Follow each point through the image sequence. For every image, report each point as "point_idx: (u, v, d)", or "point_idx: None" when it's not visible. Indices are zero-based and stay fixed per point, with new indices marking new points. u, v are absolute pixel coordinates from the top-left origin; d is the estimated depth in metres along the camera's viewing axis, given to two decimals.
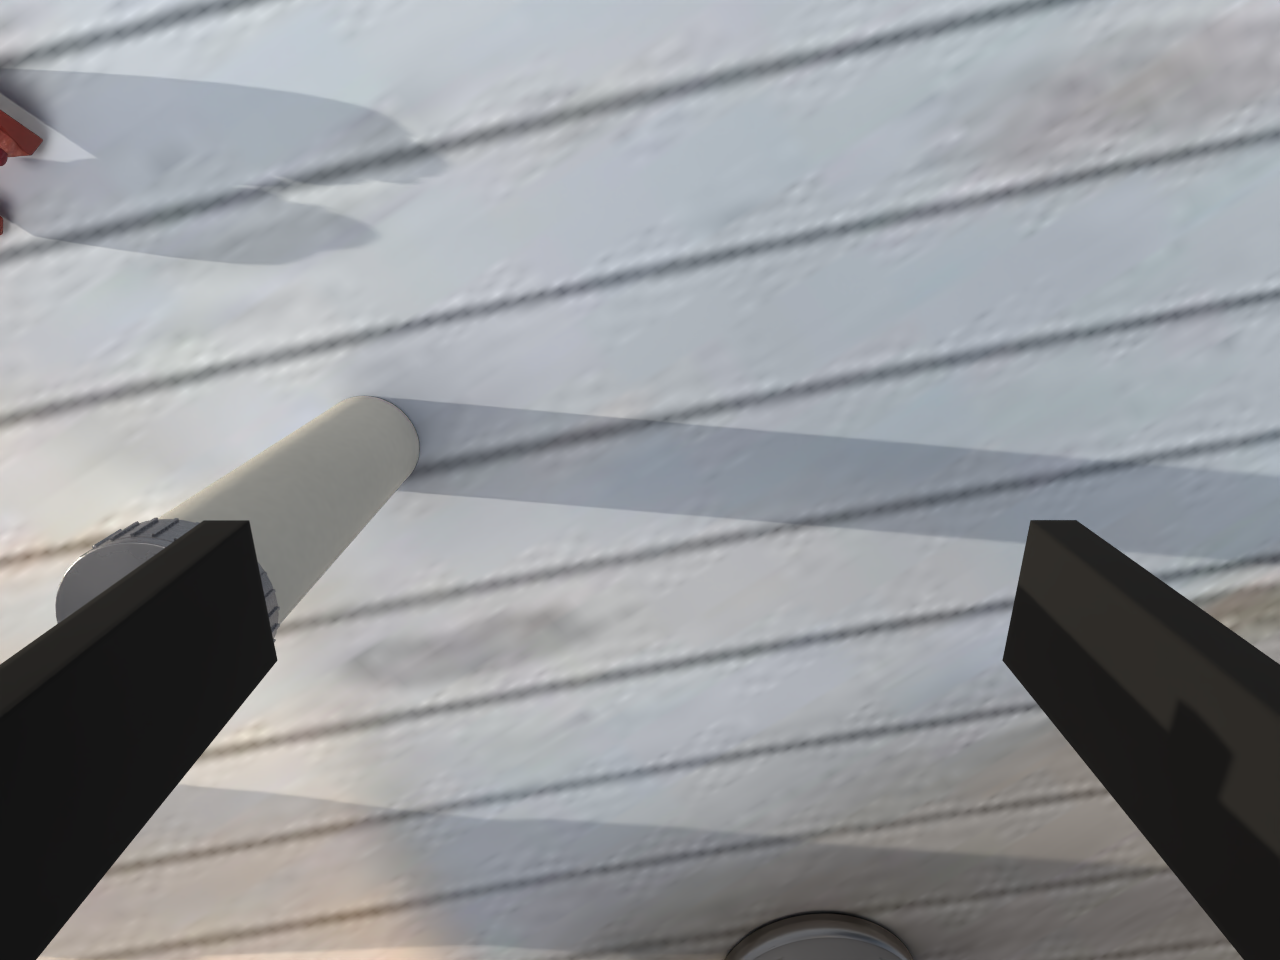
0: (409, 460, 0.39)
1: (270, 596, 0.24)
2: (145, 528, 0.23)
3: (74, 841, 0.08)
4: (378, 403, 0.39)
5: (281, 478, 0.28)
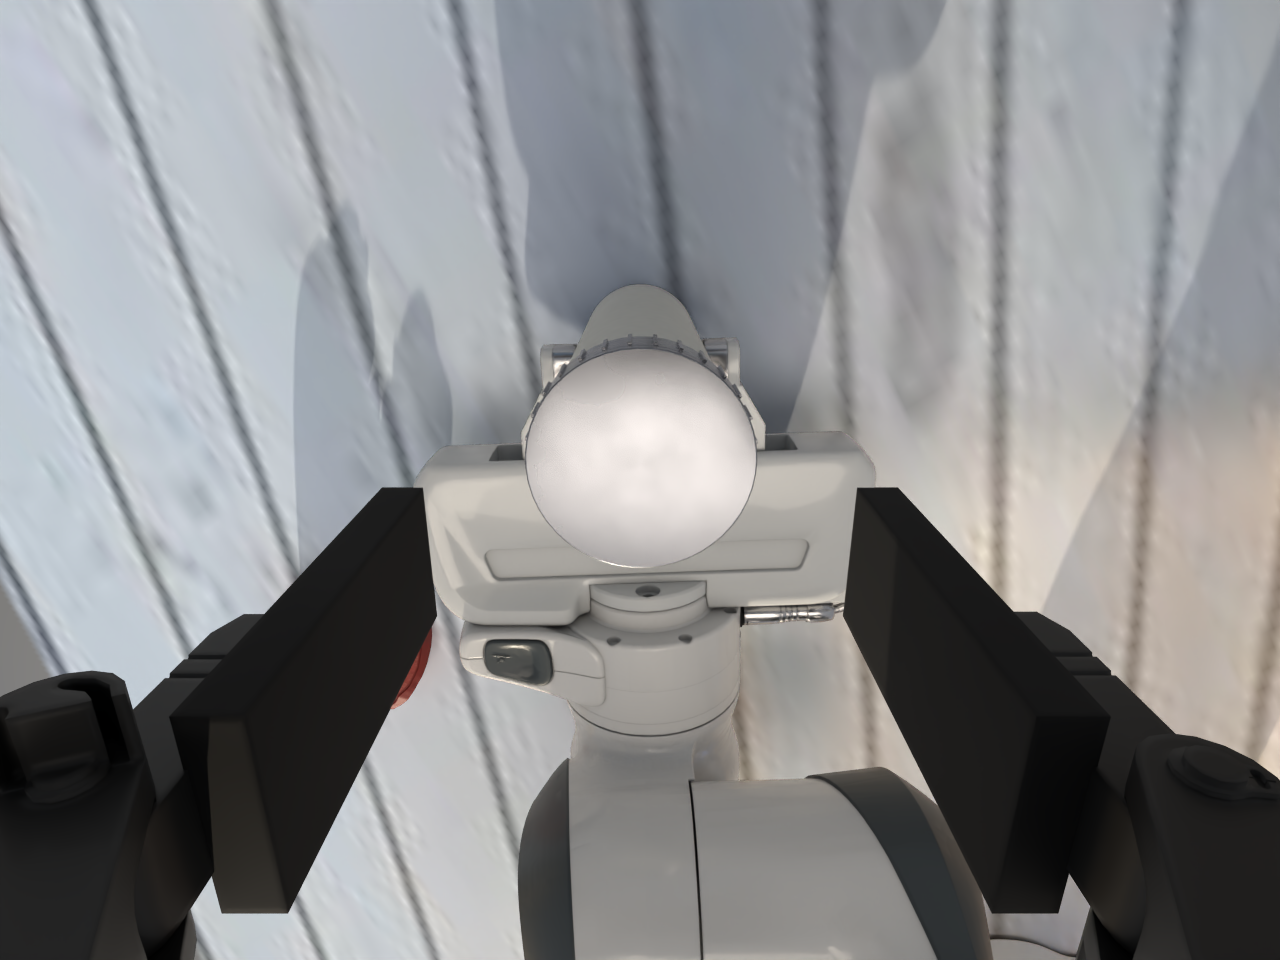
0: (651, 288, 0.34)
1: None
2: None
3: (340, 748, 0.10)
4: None
5: (570, 361, 0.25)
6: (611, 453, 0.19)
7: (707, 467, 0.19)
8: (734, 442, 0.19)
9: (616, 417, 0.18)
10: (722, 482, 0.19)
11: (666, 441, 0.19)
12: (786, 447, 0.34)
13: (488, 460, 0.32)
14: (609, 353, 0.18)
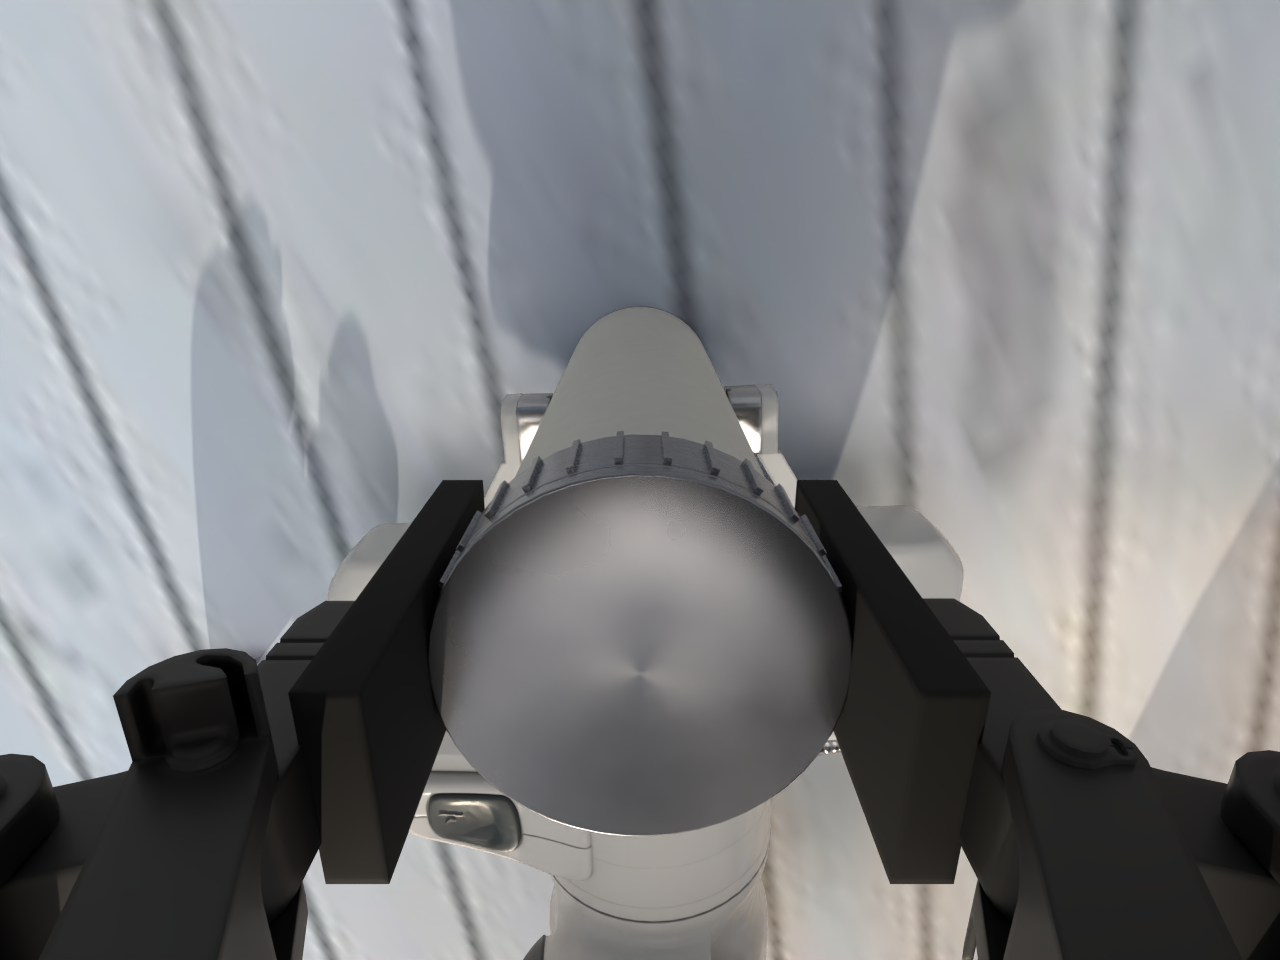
0: (654, 314, 0.26)
1: (623, 439, 0.11)
2: None
3: (424, 729, 0.10)
4: None
5: (532, 440, 0.16)
6: (585, 656, 0.10)
7: (761, 679, 0.10)
8: (812, 638, 0.10)
9: (594, 596, 0.10)
10: (787, 704, 0.10)
11: (686, 636, 0.10)
12: None
13: None
14: (579, 483, 0.09)
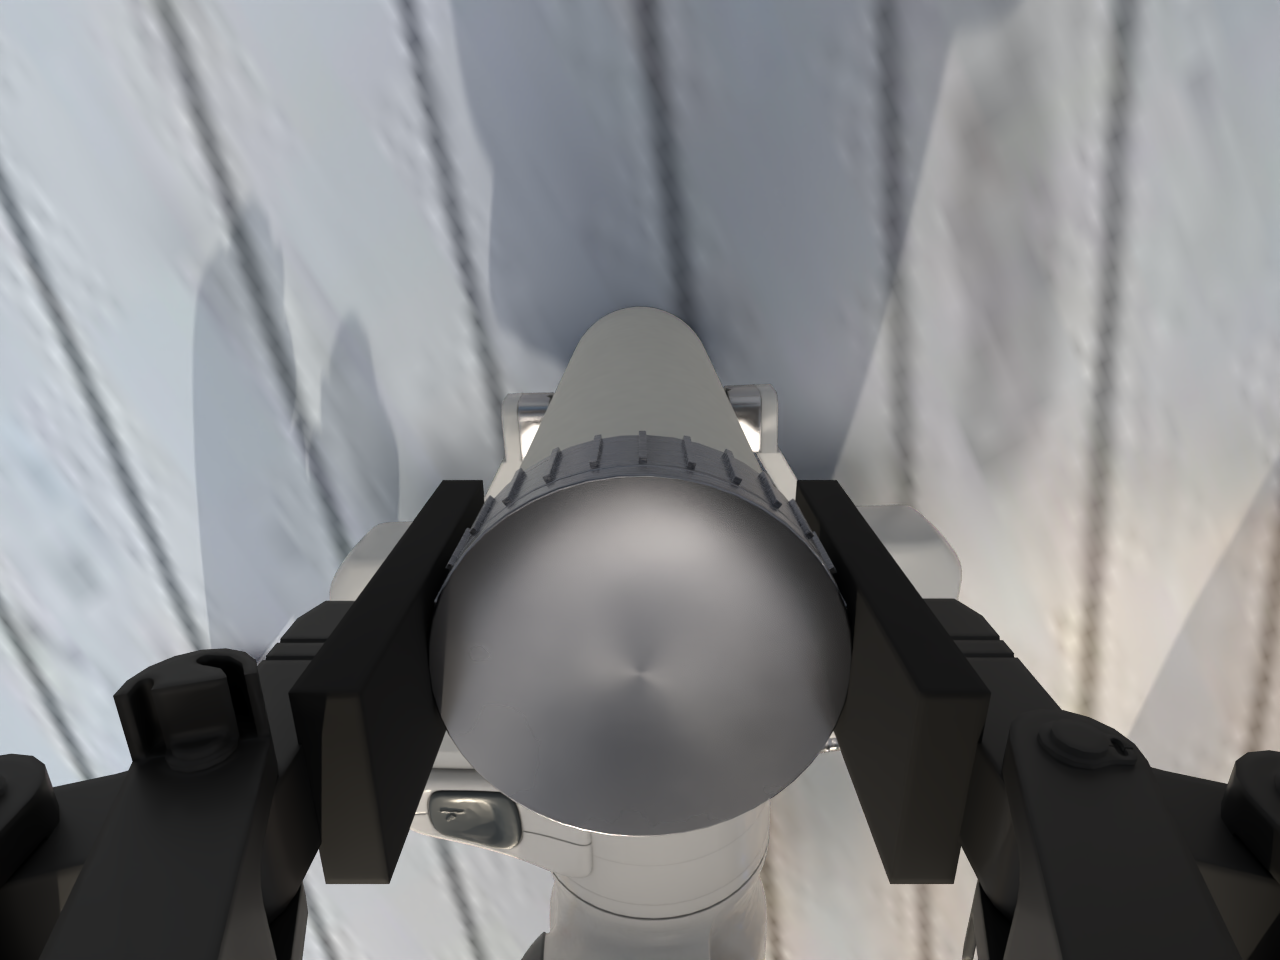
0: (654, 314, 0.26)
1: None
2: None
3: (425, 729, 0.10)
4: None
5: (533, 439, 0.16)
6: (623, 719, 0.11)
7: (640, 564, 0.10)
8: (585, 521, 0.10)
9: (556, 715, 0.11)
10: (669, 536, 0.10)
11: (594, 636, 0.10)
12: None
13: None
14: (447, 728, 0.11)
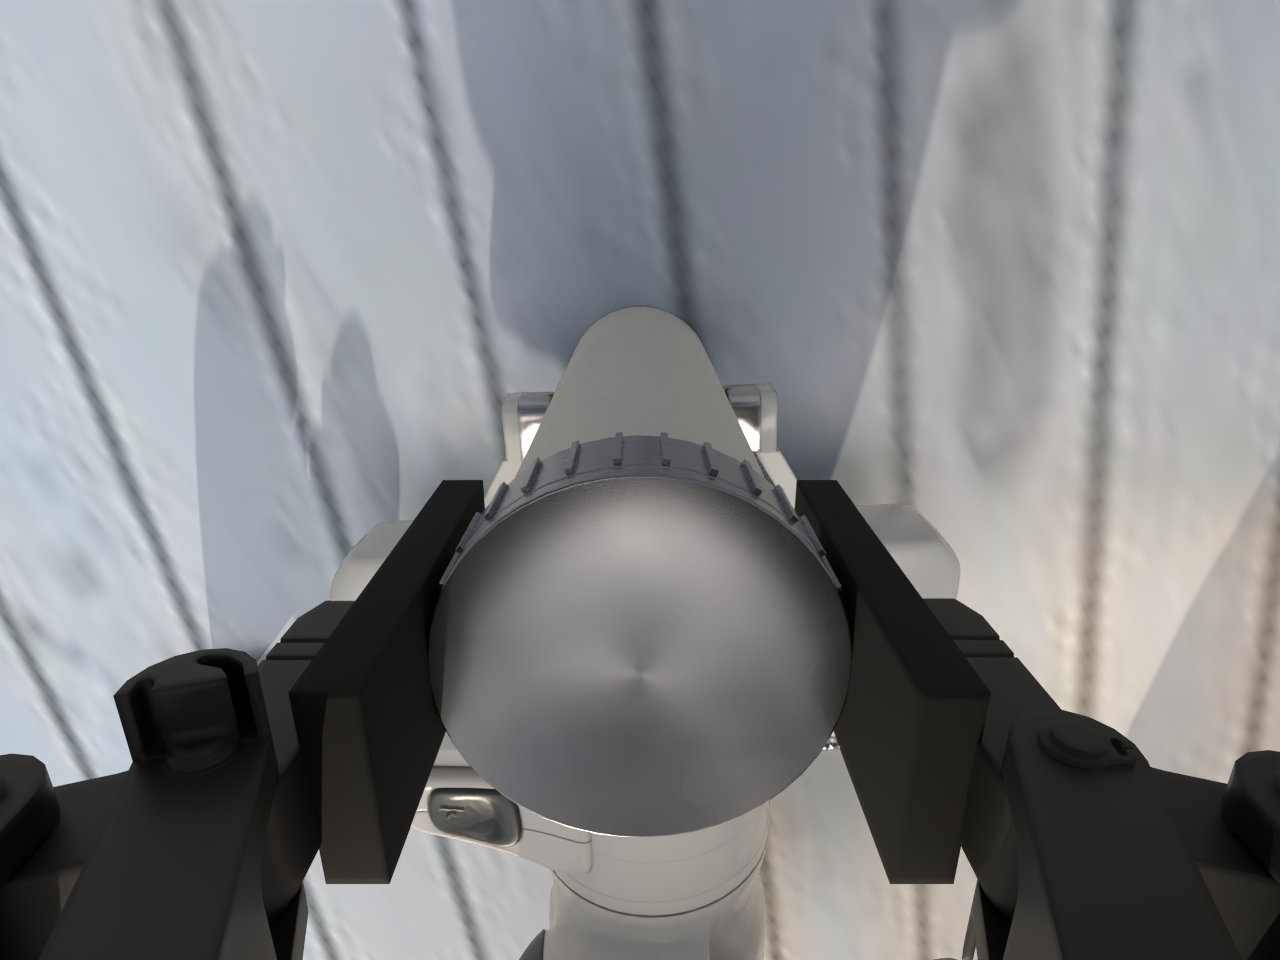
0: (654, 314, 0.26)
1: None
2: None
3: (425, 729, 0.10)
4: None
5: (534, 437, 0.17)
6: (695, 686, 0.10)
7: (518, 679, 0.10)
8: (480, 723, 0.11)
9: (691, 742, 0.11)
10: (484, 659, 0.10)
11: (599, 713, 0.11)
12: None
13: None
14: (710, 825, 0.11)
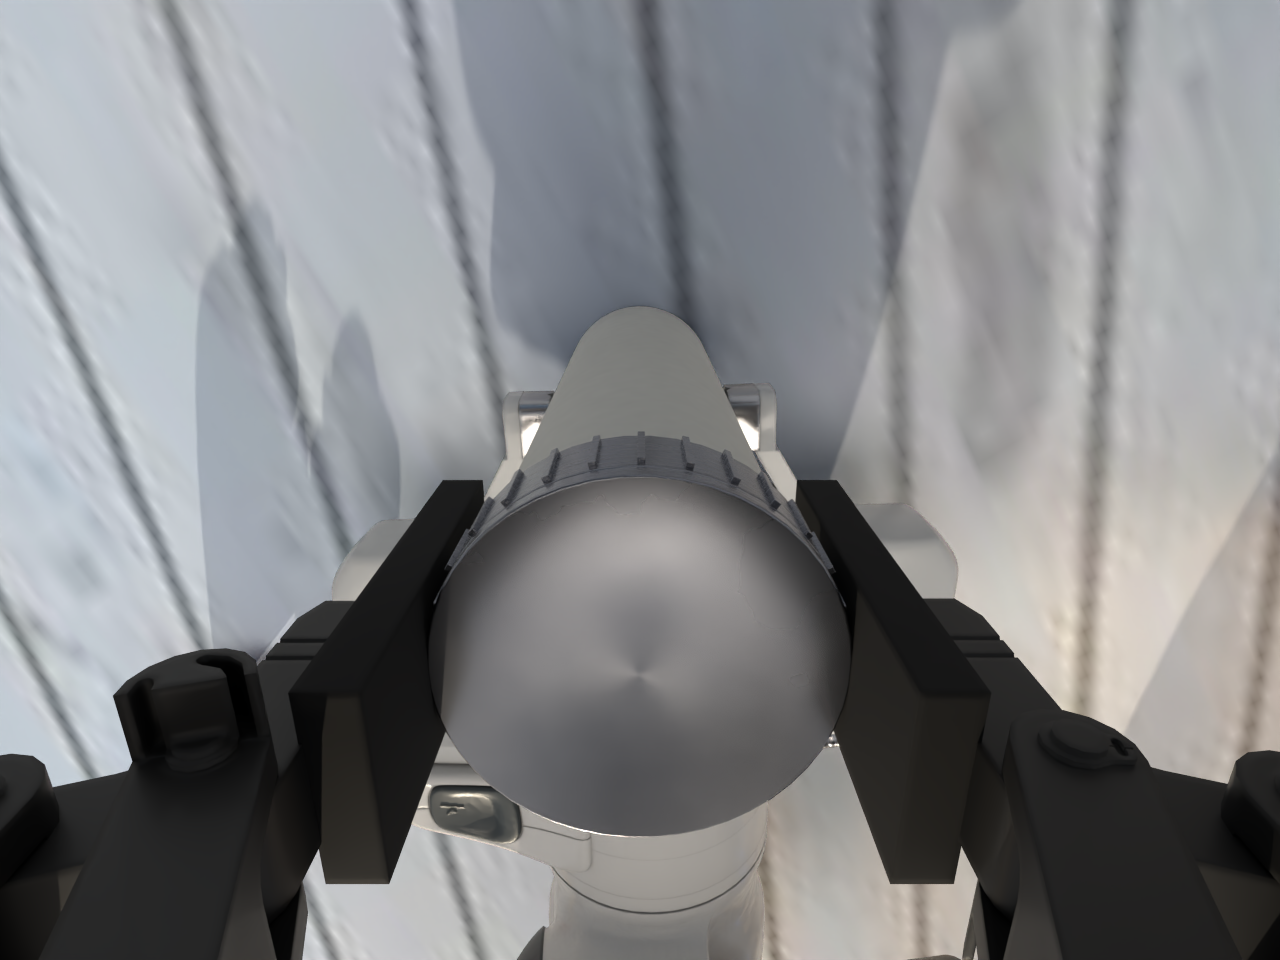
0: (654, 314, 0.26)
1: None
2: (600, 453, 0.10)
3: (424, 729, 0.10)
4: None
5: (534, 436, 0.17)
6: (650, 625, 0.10)
7: (651, 771, 0.11)
8: (703, 800, 0.11)
9: (721, 624, 0.10)
10: (629, 796, 0.11)
11: (688, 706, 0.11)
12: None
13: None
14: (837, 596, 0.10)
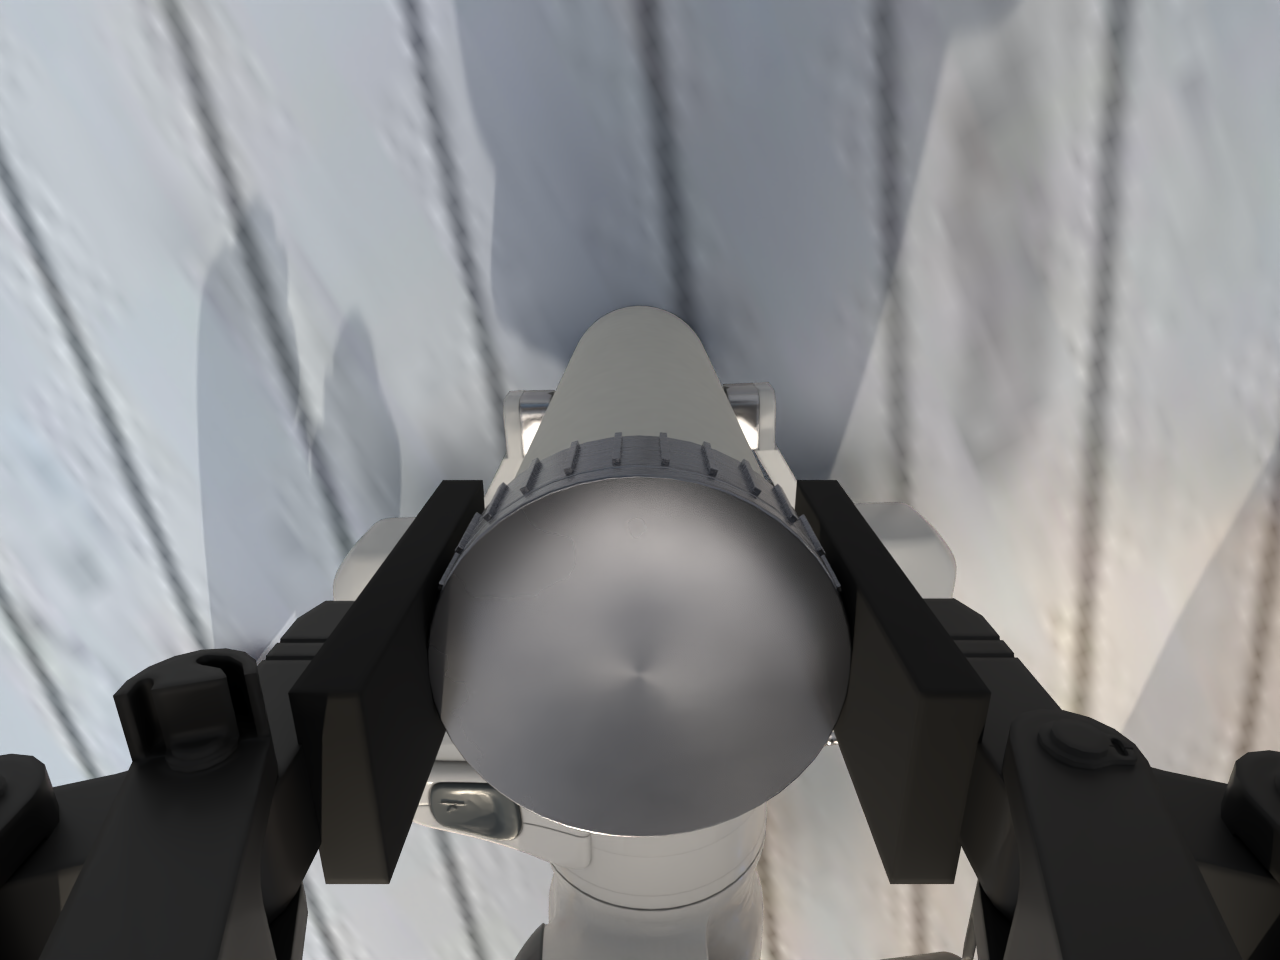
0: (654, 313, 0.26)
1: (576, 448, 0.11)
2: None
3: (424, 729, 0.10)
4: None
5: (535, 434, 0.17)
6: (582, 668, 0.10)
7: (760, 657, 0.10)
8: (800, 606, 0.10)
9: (574, 608, 0.10)
10: (793, 676, 0.10)
11: (675, 629, 0.10)
12: None
13: None
14: (531, 502, 0.09)
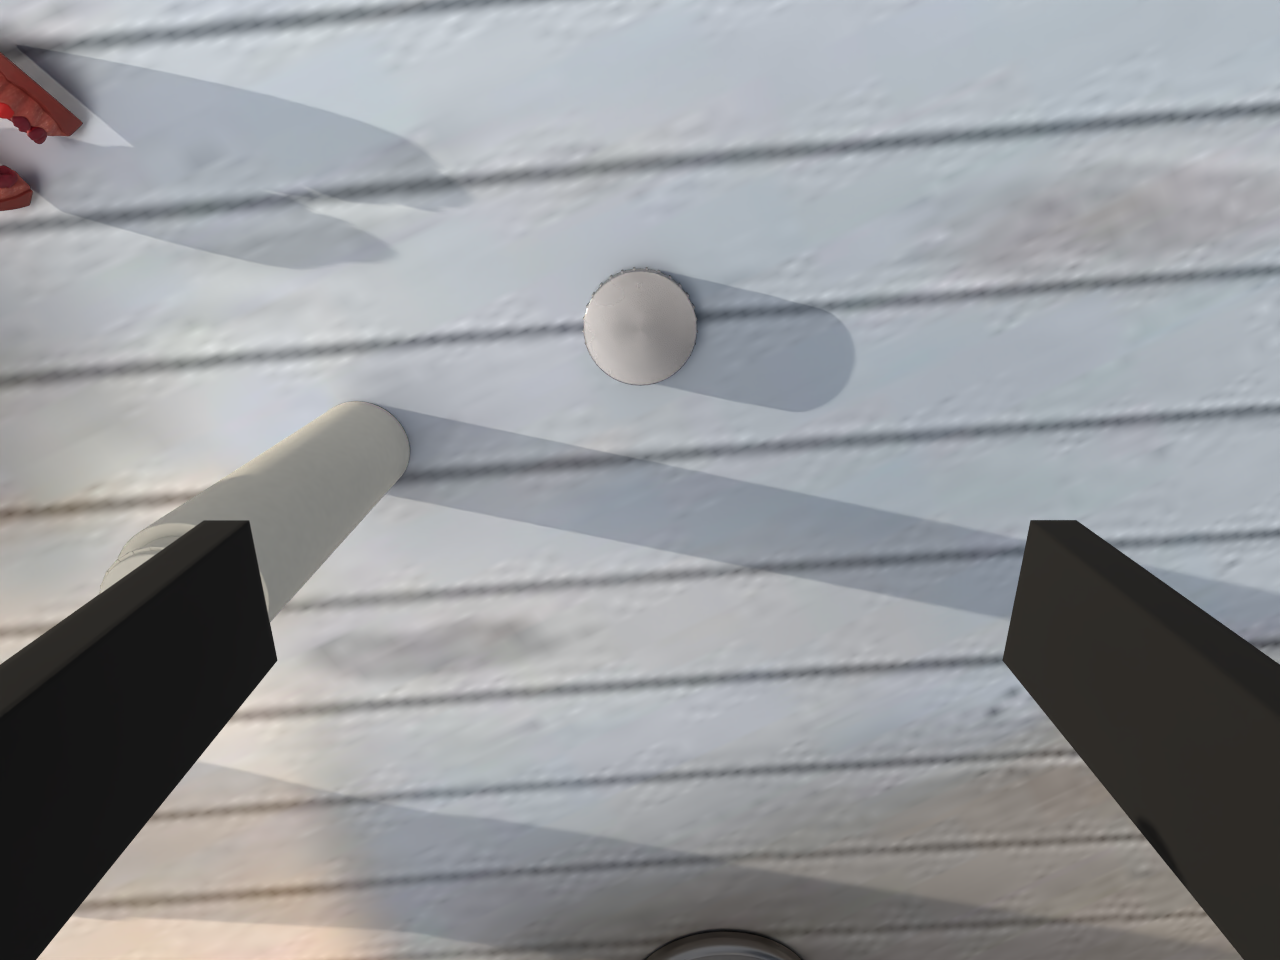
0: (399, 468, 0.41)
1: None
2: None
3: (75, 841, 0.08)
4: (376, 411, 0.41)
5: (284, 484, 0.30)
6: (625, 327, 0.39)
7: (672, 324, 0.39)
8: (682, 308, 0.38)
9: (623, 309, 0.38)
10: (681, 330, 0.39)
11: (649, 315, 0.38)
12: None
13: None
14: (613, 278, 0.38)
